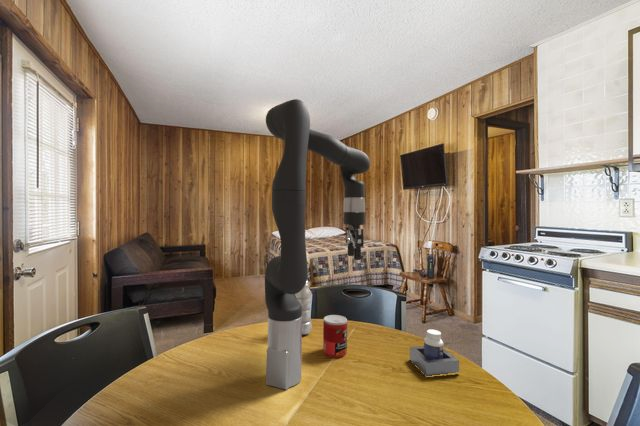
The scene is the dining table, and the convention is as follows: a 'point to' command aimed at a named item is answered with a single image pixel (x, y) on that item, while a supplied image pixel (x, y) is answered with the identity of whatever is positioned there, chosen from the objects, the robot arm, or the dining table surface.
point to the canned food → (335, 336)
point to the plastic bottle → (305, 308)
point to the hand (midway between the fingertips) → (353, 257)
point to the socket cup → (434, 362)
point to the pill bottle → (433, 345)
